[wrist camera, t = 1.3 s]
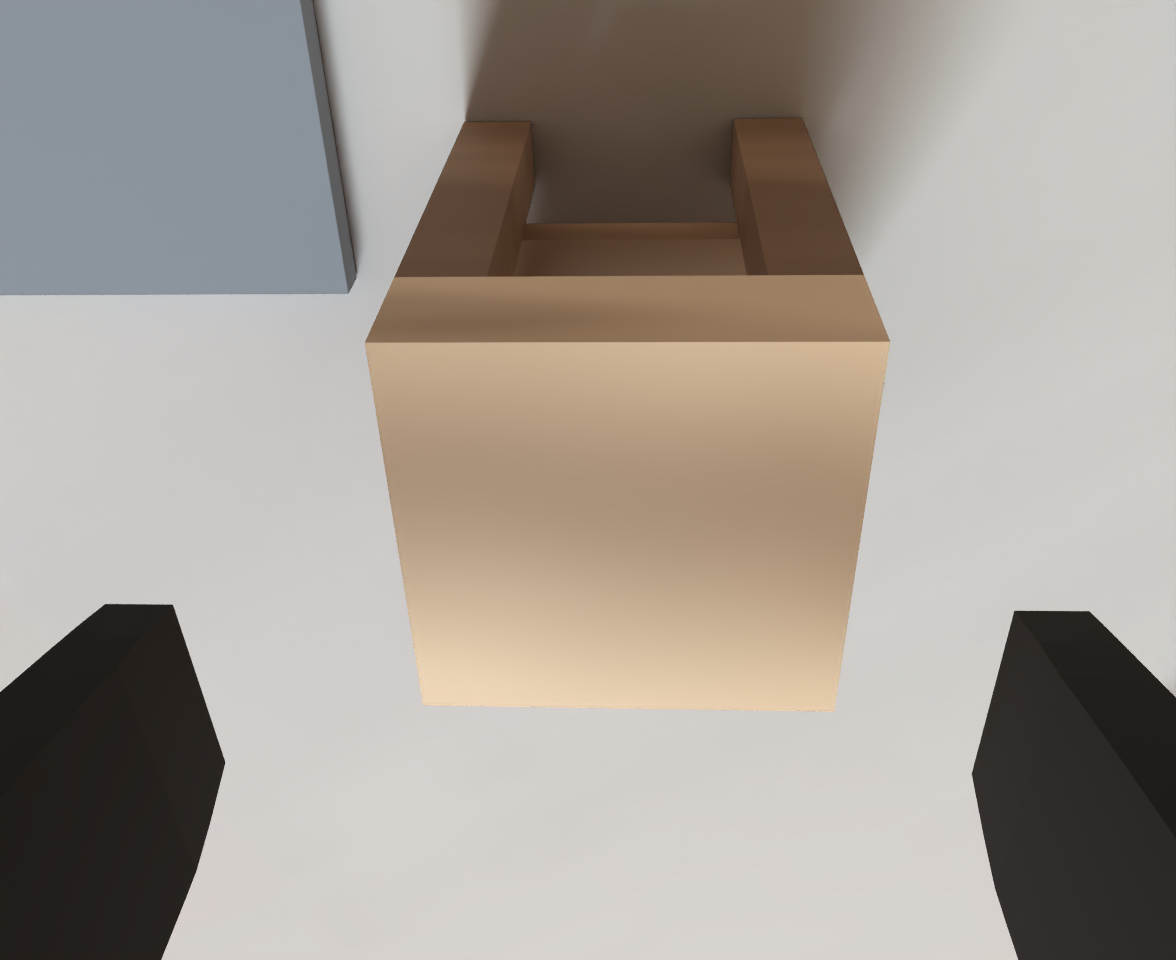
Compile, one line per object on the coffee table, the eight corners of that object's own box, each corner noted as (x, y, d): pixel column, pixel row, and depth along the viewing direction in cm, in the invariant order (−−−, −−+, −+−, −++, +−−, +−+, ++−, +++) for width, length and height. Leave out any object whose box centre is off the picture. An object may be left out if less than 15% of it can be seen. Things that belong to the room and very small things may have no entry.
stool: (776, 409, 19) (834, 711, 13) (490, 408, 19) (422, 705, 13) (802, 118, 16) (889, 341, 10) (464, 122, 16) (364, 342, 10)
